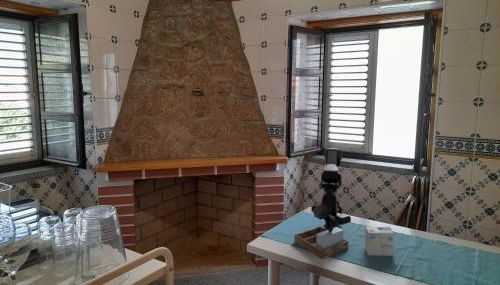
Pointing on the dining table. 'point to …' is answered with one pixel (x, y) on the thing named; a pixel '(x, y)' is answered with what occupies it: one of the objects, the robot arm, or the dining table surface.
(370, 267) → the dining table surface
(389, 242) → the light bulb box
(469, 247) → the dining table surface
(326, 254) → the rack
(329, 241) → the white rectangular box
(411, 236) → the dining table surface
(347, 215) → the robot arm
